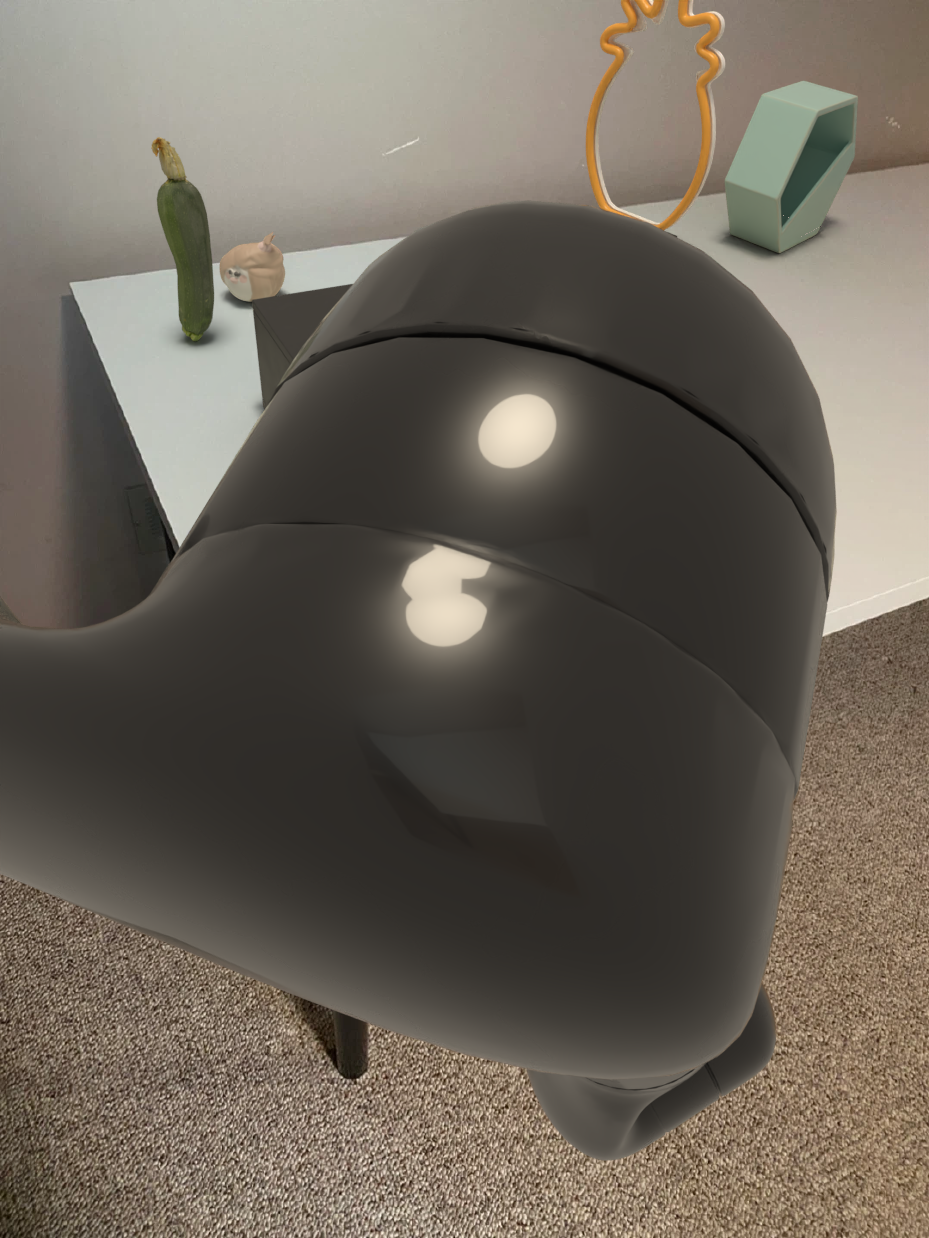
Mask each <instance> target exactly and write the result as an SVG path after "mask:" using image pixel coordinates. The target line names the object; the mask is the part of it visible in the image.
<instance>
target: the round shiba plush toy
mask: <svg viewBox="0 0 929 1238" xmlns="http://www.w3.org/2000/svg"><path fill="white" fill-rule="evenodd" d="M273 234H274V231H272V232H270V233H268V234H267V235H265V236H264V238H263V240H262V241H259V242H249V243H242V244H238V245H236V246H233V247H232V248H231V249H230V250H229V251H228V252H226V253H225V254H224V255H223V256H222V258H220V261H219V267H218V268H219V275H220V278H221V281H222V283H223V284H224V285H225V286H226V288H227V289H228V291H229V292H230V294H232V295H233V297H235V298H237V299H239V300H241V301H244V302H247V303H252V300H254V299H260V298H266V297H273V296H277V294H278V293H279V292H280V290H281V289H282V287H283V285H284V283H285V278H286V268H285V266H284V255H283V252H282V251H281V250H280V248H278V246H276V245H274V244H273V243H272V241H273V240H274V238H275V237H276V234H275V235H273Z"/></svg>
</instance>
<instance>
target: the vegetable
mask: <svg viewBox="0 0 929 1238" xmlns="http://www.w3.org/2000/svg"><path fill="white" fill-rule="evenodd" d="M151 151H152V153H153V154H154V156H155V157H158V159H159V163H160V167H161V171H162V172H163V174H164V175H165V176H166V179H167V180H166V181H165V182H163V183H162V184H161V185H160V187H159V189H158V191H157V194H156V195H157V196H156V207H157V213H158V217H159V221H160V224H161V227H162V231H163V234H164V237H165V240H166V243H167V246H168V247H169V250H170V252H171V255H172V257H173V260H174V263H175V269H176V275H177V281H176V282H177V305H178V321H179V323H180V325H181V330H182V332H183V333H184V334H185V336H186V337H188V338H190V339H191V340H192V341H193V342H198V341H199V340H200V339H201V338H202V337H203V335H204V333H206V332H207V330H208V329H209V327H210V326H211V323H212V322H213V318H214V317H213V316H214V309H215V308H214V306H215V285H214V268H213V267H214V266H213V254H212V246H211V234H210V233H211V232H210V227H209V220H208V211H207V209H206V206H205V205H206V204H205V201H204V199H203V197H202V194H201V192H200V191H199V189H198V188H197V187H196V185H194V184H193V183H192V182H191V181H189V180H188V179H187V175H186V171H185V166H184V165H183V161H182V159H181V158H180V156H179V153H178V152H177V151H176V147H174V146H171V141H169V140H166V138H162V137H161V136H157V137H156V138H155V139H153V141H152V143H151Z"/></svg>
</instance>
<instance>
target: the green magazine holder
mask: <svg viewBox="0 0 929 1238" xmlns="http://www.w3.org/2000/svg"><path fill="white" fill-rule="evenodd" d="M858 105H859V96H858V95H857V94H856V95H855V94H852V93H850V92H846V91H841V90H838V89H835V88H831V87H828V86H824V85H820V84H817V83H814V82H810V81H807V80H801V81H798V82H794V83H791V84H788V85H785V86H782V87H779V88H776V89H773V90H770V91H767V92H764V93H762V94H761V95H760V98H759V100H758V102H757V104H756V107H755V109H754V112H753V114H752V116H751V119H750V121H749V123H748V125H747V128H746V130H745V132H744V135H743V136H742V139H741V142H740V143H739V146H738V148H737V151H736V153H735V155H734V158H733V160H732V162H731V164H730V167H729V168H728V172H727V173H726V176H725V178H724V191H725V200H726V209H727V217H728V227H729V234H730V236H733V237H736V238H738V239H741V240H743V241H746V242H748V243H751V244H754V245H755V246H758V247H762V248H764V249H767V250H769V251H772V252H774V253H777V254H781V253H783V252H786V251H787V250H789V249H791V248H793V247H795V246H797V245H799V244H801V243H803V242H805V241H807V240H809V239H811V238H812V237H814V236H816V235H817V234H818V232H819V231H820V229H821V227H822V225H823V223H824V221H825V219H826V217H827V215H828V213H829V210H830V209H831V206H832V205H833V202H834V200H835V198H836V197H837V195H838V192H839V190H840V189H841V186H842V184H843V182H844V180H845V178H846V176H847V174H848V172H849V170H850V168H851V166H852V164H853V162H854V159H855V157H856V141H857V125H858V123H857V122H858ZM783 215H784V216H783ZM788 217H789V218H788ZM820 226H821V227H820ZM818 227H819V228H818ZM816 228H817V229H816ZM814 229H815V230H814ZM813 230H814V231H813ZM811 231H812V232H811ZM809 232H810V233H809ZM806 233H808V234H806ZM805 234H806V235H805ZM801 236H802V237H801Z"/></svg>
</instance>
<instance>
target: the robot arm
mask: <svg viewBox="0 0 929 1238" xmlns="http://www.w3.org/2000/svg"><path fill="white" fill-rule="evenodd" d="M665 231H666V230H662V229H660V228H658V227H656V226H654V225H652V224H650V223H648V222H645V221H641V220H638V219H634V218H631V217H627V216H624V215H620V214H617V213H613V212H610V211H607V210H603V209H600V207H596V206H593V205H589V204H580V203H579V204H577V203H565V202H553V201H542V200H541V201H540V200H513V201H502V202H496V203H492V204H487V205H481V206H476V207H473V208H470V209H467V210H465V211H462V212H460V213H457V214H454V215H452V216H449V217H446V218H444V219H441V220H438V221H436V222H433V223H429V224H427V225H424V226H422V227H419V228H417V229H416V230H414V231H413V232H411V233H410V234H409V235H408V236H405V237H404V238H403V239H401V240H400V241H399V242H397V243H396V244H394V245H393V246H392V247H390V248H389V249H387V250H386V251H385V252H384V253H382V254H381V255H379V256H378V257H377V258H376V259H374V260H373V261H372V262H371V263H370V264H368V266H367V267H366V268H365V269H364V270H363V272H362V273H360V275H359V276H358V277H357V279H356V280H355V281H354V282H353V283H352V284H353V285H352V286H351V287H350V288H349V290H348V291H347V292H346V293H345V294H344V295H343V297H342V298H341V299H340V300H339V301H338V302H337V304H336V305H335V306H334V307H333V308H332V309H331V311H330V312H329V313H328V314H327V315H326V316H325V318H324V319H323V320H322V321H321V322H320V324H319V325H318V326H317V328H316V329H315V330H314V332H313V333H312V334H311V336H310V337H309V338H308V340H307V341H306V342H305V344H304V345H303V346H302V348H301V349H300V351H299V352H298V354H297V356H296V357H295V359H294V360H293V362H292V363H291V365H290V366H289V368H288V369H287V371H286V372H285V374H284V376H283V377H282V379H281V380H280V382H279V384H278V386H277V387H276V390H275V392H274V394H273V395H272V397H271V399H270V401H269V403H268V405H267V406H266V408H265V409H264V410H263V412H262V413H260V416H259V417H258V419H257V420H256V422H255V423H254V425H253V426H252V428H251V429H250V431H249V433H248V435H247V436H246V438H245V439H244V441H243V443H242V444H241V446H240V448H239V449H238V451H237V453H236V454H235V456H234V458H233V459H232V461H231V462H230V464H229V466H228V467H227V469H226V471H225V472H224V474H223V476H222V477H221V479H220V480H219V482H218V483H217V485H216V487H215V489H214V490H213V492H212V494H211V495H210V497H209V499H208V500H207V502H206V504H205V505H204V507H203V508H202V510H201V512H200V513H199V514H198V517H197V519H195V522H194V523H193V525H192V527H191V528H190V530H189V531H188V533H187V535H186V536H185V537H184V540H183V541H182V543H181V545H179V548H178V549H177V551H176V552H175V554H174V556H173V557H172V559H171V561H170V562H169V563H168V564H167V566H166V567H165V569H164V570H163V572H162V574H161V576H160V577H159V579H158V580H157V582H156V584H155V585H154V587H153V588H152V590H151V592H150V593H149V594H148V595H147V596H146V597H145V599H143V600H142V601H141V602H140V603H138V604H136V605H135V606H134V607H132V608H130V609H129V610H127V611H125V612H123V613H121V614H119V615H117V616H115V617H112V618H109V619H106V620H105V621H102V622H98V623H94V624H90V625H86V626H80V627H72V628H71V627H70V628H63V627H62V628H60V627H45V626H32V625H28V624H24V623H23V622H22V621H21V620H20V618H18V616H17V615H16V613H14V611H13V610H12V609H11V608H10V606H9V605H8V604H7V603H6V601H5V600H4V599H3V598H2V596H1V595H0V875H2V876H4V877H7V878H9V879H12V880H14V881H16V882H19V883H21V884H24V885H26V886H28V887H30V888H33V889H36V890H38V891H40V892H43V893H45V894H47V895H50V896H52V897H55V898H57V899H60V900H62V901H64V902H67V903H69V904H72V905H74V906H76V907H79V908H81V909H84V910H86V911H89V912H91V913H93V914H95V915H98V916H100V917H103V918H105V919H108V920H110V921H111V922H115V923H116V924H120V925H122V926H124V927H126V928H129V929H131V930H133V931H137V932H138V933H141V934H144V935H146V936H147V937H150V938H153V939H155V940H158V941H160V942H163V943H165V944H167V945H170V946H173V947H175V948H177V949H179V950H182V951H184V952H187V953H190V954H192V955H194V956H196V957H199V958H202V959H204V960H206V961H209V962H211V963H213V964H216V965H218V966H221V967H223V968H225V969H227V970H230V971H232V972H235V973H237V974H240V975H242V976H244V977H247V978H250V979H253V980H255V981H257V982H260V983H262V984H264V985H267V986H269V987H271V988H275V989H277V990H280V991H283V992H285V993H287V994H290V995H293V996H296V997H298V998H301V999H303V1000H306V1001H308V1002H311V1003H314V1004H316V1005H319V1006H321V1007H325V1008H327V1009H329V1010H332V1011H334V1012H338V1013H340V1014H342V1015H345V1016H348V1017H351V1018H353V1019H356V1020H359V1021H361V1022H364V1023H367V1024H368V1025H372V1026H374V1027H377V1028H380V1029H382V1030H385V1031H389V1032H392V1033H395V1034H398V1035H401V1036H403V1037H407V1038H409V1039H414V1040H416V1041H420V1042H423V1043H427V1044H429V1045H433V1046H435V1047H439V1048H442V1049H446V1050H449V1051H452V1052H455V1053H458V1054H461V1055H465V1056H469V1057H474V1058H478V1059H483V1060H487V1061H491V1062H495V1063H499V1064H503V1065H507V1066H512V1067H515V1068H516V1067H517V1068H520V1069H525V1070H526V1073H527V1077H528V1079H529V1082H530V1085H531V1088H532V1091H533V1093H534V1096H535V1097H536V1100H537V1102H538V1103H539V1105H540V1107H541V1109H542V1111H543V1112H544V1114H545V1116H546V1117H547V1119H548V1120H549V1121H550V1123H551V1124H552V1126H553V1127H554V1128H555V1130H556V1131H557V1132H558V1133H559V1134H560V1135H561V1136H562V1138H563V1139H564V1140H565V1141H567V1142H568V1143H569V1144H570V1146H572V1147H574V1149H576V1150H578V1152H581V1153H582V1154H584V1155H586V1156H588V1157H589V1158H592V1159H595V1160H599V1161H617V1160H622V1159H624V1158H628V1157H630V1156H632V1155H634V1154H636V1153H638V1152H640V1151H641V1150H644V1149H645V1148H647V1147H649V1146H650V1145H652V1144H653V1143H656V1141H658V1140H660V1139H661V1138H662V1137H665V1135H666V1134H667V1133H670V1132H671V1131H674V1130H675V1129H676V1128H677V1127H679V1126H680V1125H682V1124H684V1123H685V1122H687V1121H688V1120H690V1119H691V1118H693V1117H694V1116H696V1115H698V1114H699V1113H700V1112H703V1110H705V1109H706V1108H708V1107H710V1106H711V1105H713V1104H714V1103H716V1102H717V1101H719V1100H720V1097H725V1096H727V1095H728V1094H730V1093H731V1092H733V1091H734V1090H736V1089H737V1088H740V1087H741V1086H742V1085H744V1084H745V1083H746V1082H749V1081H750V1080H751V1079H753V1078H754V1077H756V1076H758V1074H759V1073H760V1072H761V1071H763V1070H764V1069H765V1068H766V1067H767V1065H769V1063H770V1061H771V1060H772V1057H773V1055H774V1053H775V1047H776V1042H777V1024H776V1017H775V1011H774V1008H773V1004H772V1001H771V999H770V996H769V994H768V991H767V989H766V987H765V985H764V983H763V981H764V978H765V974H766V970H767V967H768V962H769V958H770V952H771V948H772V943H773V937H774V934H775V929H776V923H777V919H778V914H779V907H780V902H781V897H782V896H781V895H782V890H783V885H784V877H785V872H786V866H787V861H788V854H789V850H790V849H789V848H790V843H791V836H792V832H793V826H794V822H793V820H794V819H793V817H794V804H795V803H794V802H795V799H796V796H797V794H798V792H799V789H800V788H799V787H800V782H801V781H800V780H801V775H802V768H803V764H804V763H803V762H804V757H805V750H806V743H807V738H808V737H807V736H808V731H809V723H810V718H811V712H812V705H813V699H814V694H815V687H816V686H815V685H816V681H817V680H816V678H817V675H818V674H817V673H818V667H819V663H820V661H819V660H820V655H821V648H822V642H823V636H824V629H825V622H826V617H827V610H828V602H829V598H830V594H831V586H832V582H833V581H832V580H833V572H834V564H835V563H834V562H835V555H836V554H835V548H836V547H835V541H836V540H835V539H836V538H835V536H836V526H837V525H836V524H837V513H838V512H837V511H838V509H837V492H836V490H837V489H836V474H835V471H836V470H835V462H834V456H833V455H834V454H833V450H832V445H831V441H830V437H829V434H828V429H827V425H826V421H825V417H824V416H825V415H824V412H823V408H822V403H821V400H820V396H819V393H818V391H817V389H816V386H815V385H814V383H813V381H812V379H811V377H810V375H809V373H808V371H807V368H806V367H805V365H804V362H803V360H802V359H801V356H800V354H799V352H798V350H797V348H796V345H794V342H793V340H792V338H791V337H790V336H789V335H788V333H787V332H786V331H785V330H784V328H783V327H782V325H780V323H779V322H778V321H777V320H776V318H775V317H774V316H773V315H772V313H771V312H770V311H769V309H768V308H767V307H766V306H765V304H764V303H763V302H762V301H761V300H760V298H759V297H758V296H757V294H756V293H755V292H754V291H753V290H752V289H751V288H749V286H747V285H746V284H745V283H743V282H742V281H741V280H740V279H738V278H737V277H736V276H735V275H733V274H732V273H731V272H730V271H729V270H728V269H726V268H725V267H724V266H722V265H721V264H720V263H719V262H717V260H715V259H714V258H713V257H711V255H709V254H708V253H707V252H705V251H704V250H702V249H700V248H698V247H696V246H694V245H693V244H691V243H688V242H687V241H685V240H683V239H681V238H679V237H678V236H677V237H675V236H673V235H671V234H672V233H671V234H669V233H670V232H669V233H667V232H668V231H666V232H665Z"/></svg>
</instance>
